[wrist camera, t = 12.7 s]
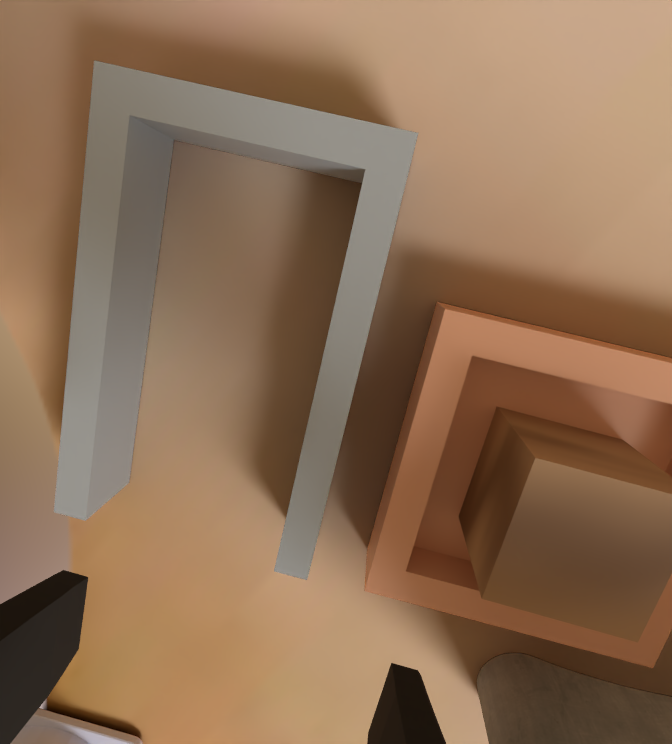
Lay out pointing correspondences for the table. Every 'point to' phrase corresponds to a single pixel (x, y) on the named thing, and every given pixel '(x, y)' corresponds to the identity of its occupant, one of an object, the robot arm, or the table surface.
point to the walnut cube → (568, 524)
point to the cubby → (140, 260)
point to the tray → (464, 444)
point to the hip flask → (566, 706)
